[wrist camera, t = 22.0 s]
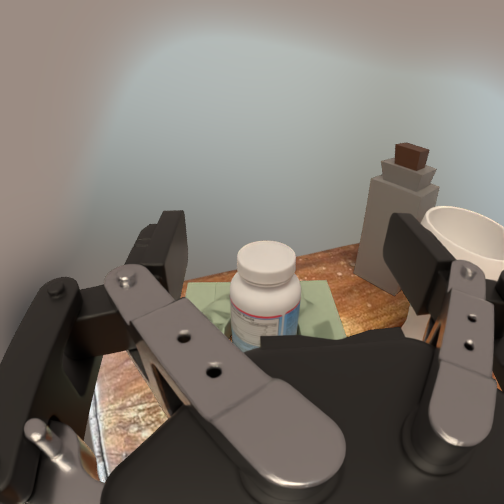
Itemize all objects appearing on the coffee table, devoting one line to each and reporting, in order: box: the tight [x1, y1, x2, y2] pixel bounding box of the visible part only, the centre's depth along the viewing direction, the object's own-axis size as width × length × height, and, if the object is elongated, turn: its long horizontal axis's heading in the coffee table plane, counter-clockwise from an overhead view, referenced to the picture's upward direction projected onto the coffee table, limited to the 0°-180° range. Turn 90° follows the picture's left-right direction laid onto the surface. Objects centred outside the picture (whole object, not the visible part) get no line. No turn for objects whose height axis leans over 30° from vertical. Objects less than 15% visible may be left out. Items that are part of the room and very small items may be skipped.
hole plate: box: [185, 280, 346, 340], centre depth 31 cm, size 16×16×2 cm
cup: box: [401, 206, 504, 341], centre depth 26 cm, size 11×11×15 cm
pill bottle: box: [230, 241, 301, 352], centre depth 28 cm, size 6×6×11 cm
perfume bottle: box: [354, 143, 439, 296], centre depth 38 cm, size 7×7×18 cm
